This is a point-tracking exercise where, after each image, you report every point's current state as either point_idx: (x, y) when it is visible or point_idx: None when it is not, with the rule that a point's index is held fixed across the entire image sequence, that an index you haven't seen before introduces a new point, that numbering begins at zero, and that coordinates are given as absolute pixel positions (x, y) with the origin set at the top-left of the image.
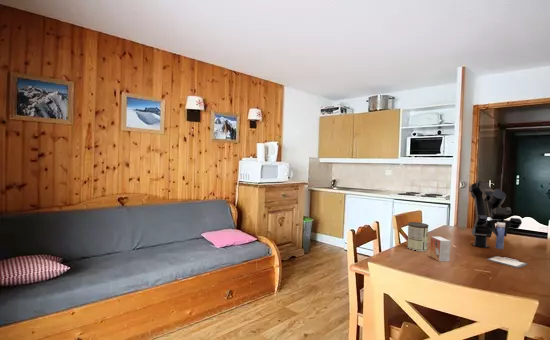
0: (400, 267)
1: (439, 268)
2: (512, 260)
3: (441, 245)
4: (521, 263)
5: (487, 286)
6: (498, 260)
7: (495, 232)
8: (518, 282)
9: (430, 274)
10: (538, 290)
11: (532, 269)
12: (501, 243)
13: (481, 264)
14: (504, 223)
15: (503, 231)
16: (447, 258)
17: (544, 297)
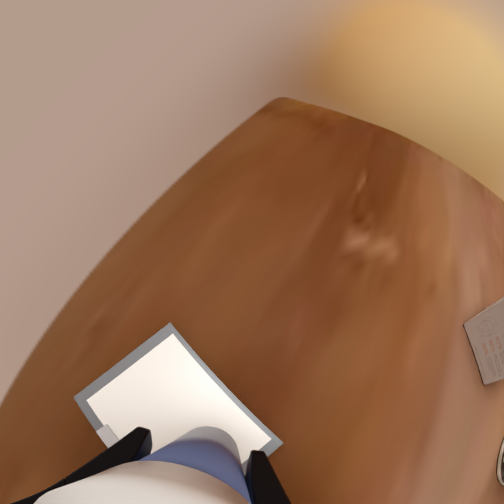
0: None
1: (475, 233)
2: None
3: None
4: (107, 390)
5: (376, 136)
6: (223, 425)
7: (277, 486)
8: (283, 160)
9: (476, 189)
10: (257, 126)
11: (103, 322)
12: (205, 430)
13: (351, 336)
14: (73, 486)
15: (162, 450)
16: (476, 315)
17: (269, 103)
